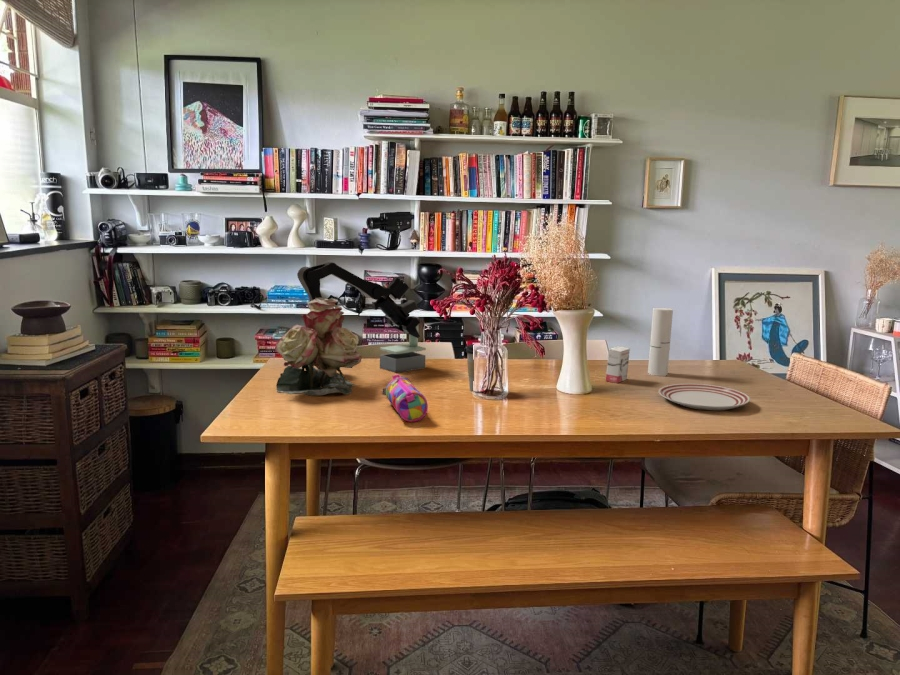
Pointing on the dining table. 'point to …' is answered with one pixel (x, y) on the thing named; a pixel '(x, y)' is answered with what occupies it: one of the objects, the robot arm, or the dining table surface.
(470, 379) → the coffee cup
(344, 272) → the robot arm
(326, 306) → the rose bouquet
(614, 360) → the ink box
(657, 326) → the cylindrical container
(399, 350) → the pale green stand
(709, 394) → the dinner plate
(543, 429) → the dining table surface
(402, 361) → the parts tub
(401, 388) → the pencil case
